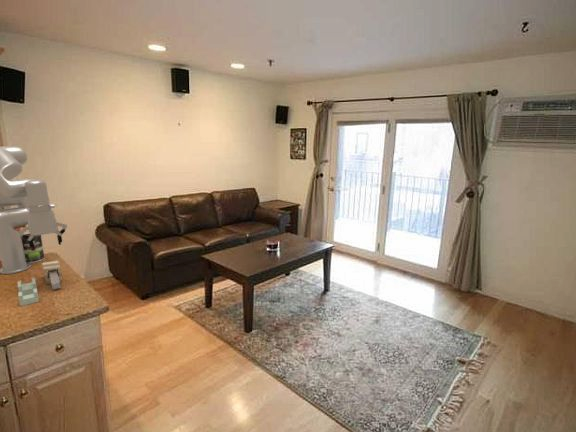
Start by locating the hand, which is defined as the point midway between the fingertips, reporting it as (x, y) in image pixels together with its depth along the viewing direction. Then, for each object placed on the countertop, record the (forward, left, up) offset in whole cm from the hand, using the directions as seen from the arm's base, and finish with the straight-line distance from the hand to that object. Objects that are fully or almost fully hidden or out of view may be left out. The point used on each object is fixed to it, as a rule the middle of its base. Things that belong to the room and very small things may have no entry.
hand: (46, 246), depth 146 cm
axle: (-3, +1, -18) cm, 18 cm away
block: (-10, +1, -20) cm, 23 cm away
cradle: (+3, -9, -20) cm, 22 cm away
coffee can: (-45, -5, -20) cm, 50 cm away
